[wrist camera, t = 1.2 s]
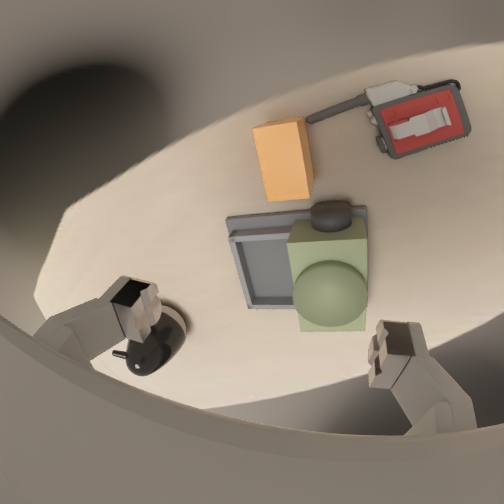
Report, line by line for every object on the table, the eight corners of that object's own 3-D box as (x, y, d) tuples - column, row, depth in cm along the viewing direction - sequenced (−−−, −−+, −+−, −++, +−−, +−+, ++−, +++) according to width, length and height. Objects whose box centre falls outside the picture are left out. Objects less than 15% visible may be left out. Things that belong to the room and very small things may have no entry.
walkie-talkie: (447, 64, 22) (303, 112, 31) (461, 62, 18) (299, 115, 27) (470, 131, 25) (333, 176, 34) (486, 137, 21) (333, 187, 30)
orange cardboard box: (303, 116, 31) (296, 121, 25) (314, 181, 35) (310, 201, 29) (267, 122, 32) (252, 128, 27) (280, 185, 36) (268, 204, 30)
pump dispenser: (151, 288, 53) (107, 342, 41) (198, 313, 53) (161, 375, 41) (146, 318, 59) (109, 368, 47) (187, 341, 59) (156, 396, 47)
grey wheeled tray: (365, 198, 34) (372, 228, 27) (366, 307, 42) (368, 348, 35) (226, 210, 40) (200, 239, 33) (252, 308, 49) (237, 346, 41)
